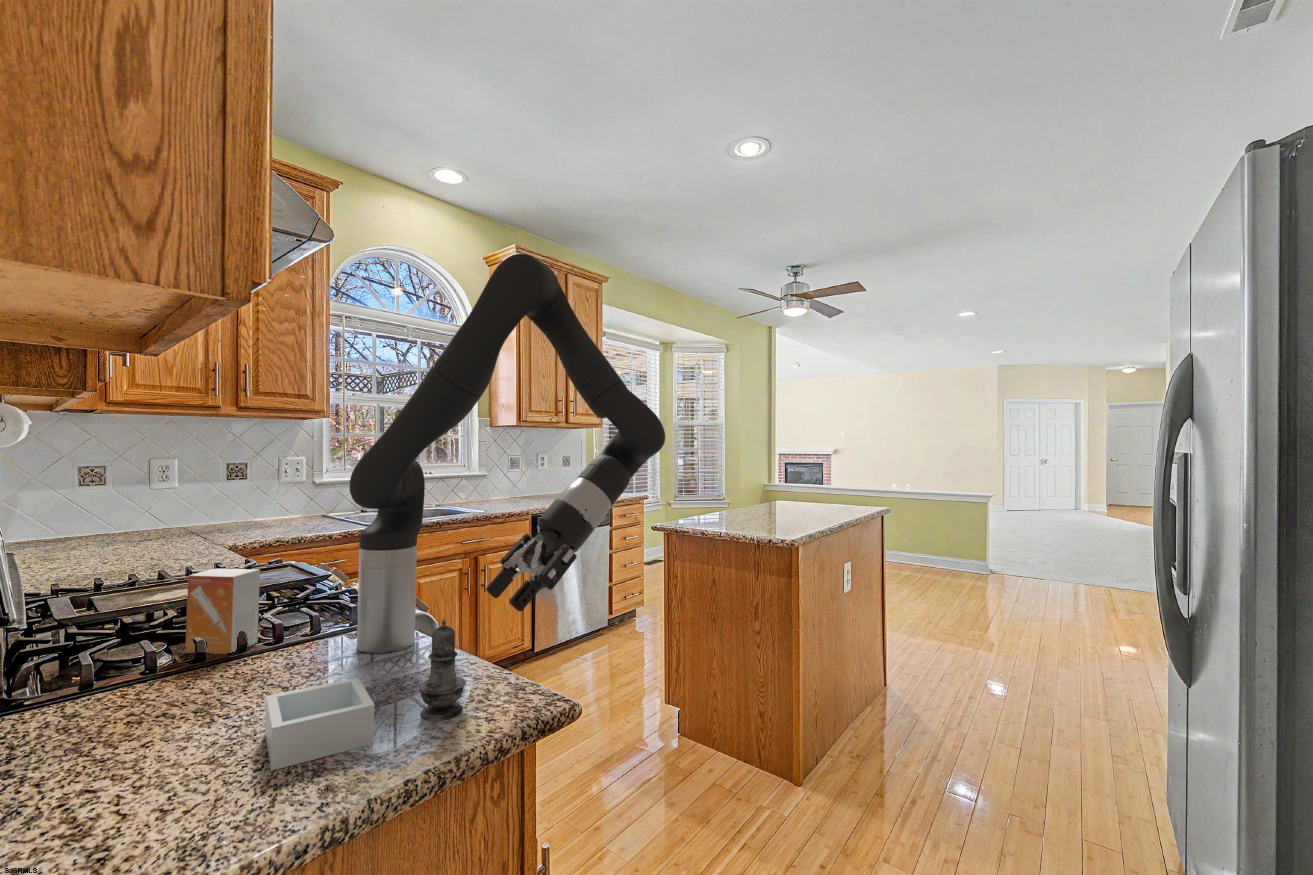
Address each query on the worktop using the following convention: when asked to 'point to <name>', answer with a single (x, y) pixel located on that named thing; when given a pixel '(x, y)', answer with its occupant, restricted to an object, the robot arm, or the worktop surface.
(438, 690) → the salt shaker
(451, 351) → the robot arm
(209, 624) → the small box
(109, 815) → the worktop surface
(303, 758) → the sleeve
